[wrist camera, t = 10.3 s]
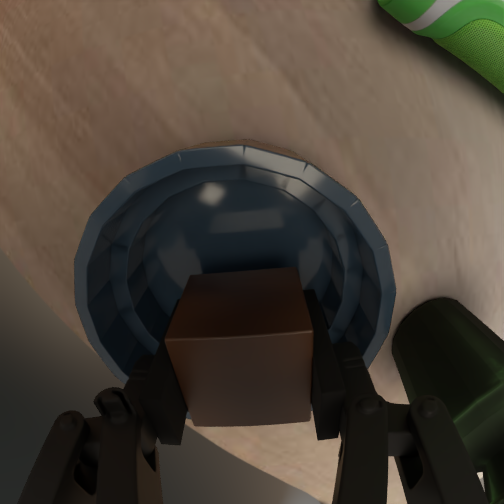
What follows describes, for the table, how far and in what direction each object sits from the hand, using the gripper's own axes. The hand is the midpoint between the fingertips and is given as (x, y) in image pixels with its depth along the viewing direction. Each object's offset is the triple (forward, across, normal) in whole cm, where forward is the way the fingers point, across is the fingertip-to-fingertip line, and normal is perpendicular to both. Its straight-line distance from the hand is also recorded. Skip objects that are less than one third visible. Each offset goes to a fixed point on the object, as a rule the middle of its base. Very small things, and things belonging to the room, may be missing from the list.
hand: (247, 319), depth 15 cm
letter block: (0, 0, 0) cm, 0 cm away
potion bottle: (+4, +13, -6) cm, 15 cm away
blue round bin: (+4, -1, +1) cm, 4 cm away
